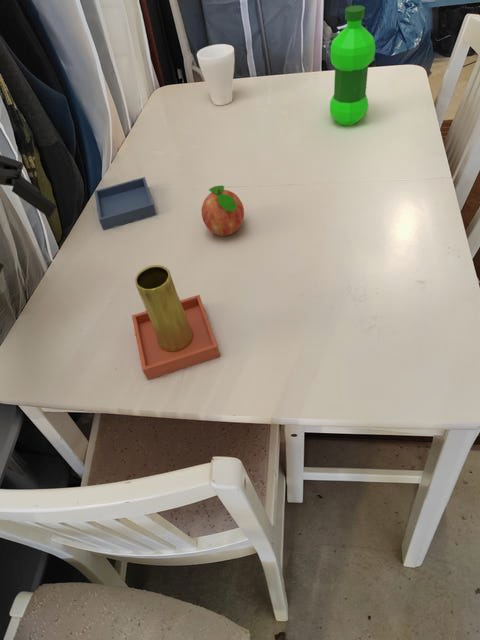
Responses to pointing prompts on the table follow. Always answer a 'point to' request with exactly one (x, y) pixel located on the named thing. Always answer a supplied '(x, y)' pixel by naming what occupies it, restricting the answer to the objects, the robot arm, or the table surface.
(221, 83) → the cup
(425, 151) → the table surface
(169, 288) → the vase
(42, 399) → the table surface
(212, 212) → the fruit
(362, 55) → the plastic bottle
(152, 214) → the slate tray
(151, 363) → the terracotta tray
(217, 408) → the table surface
